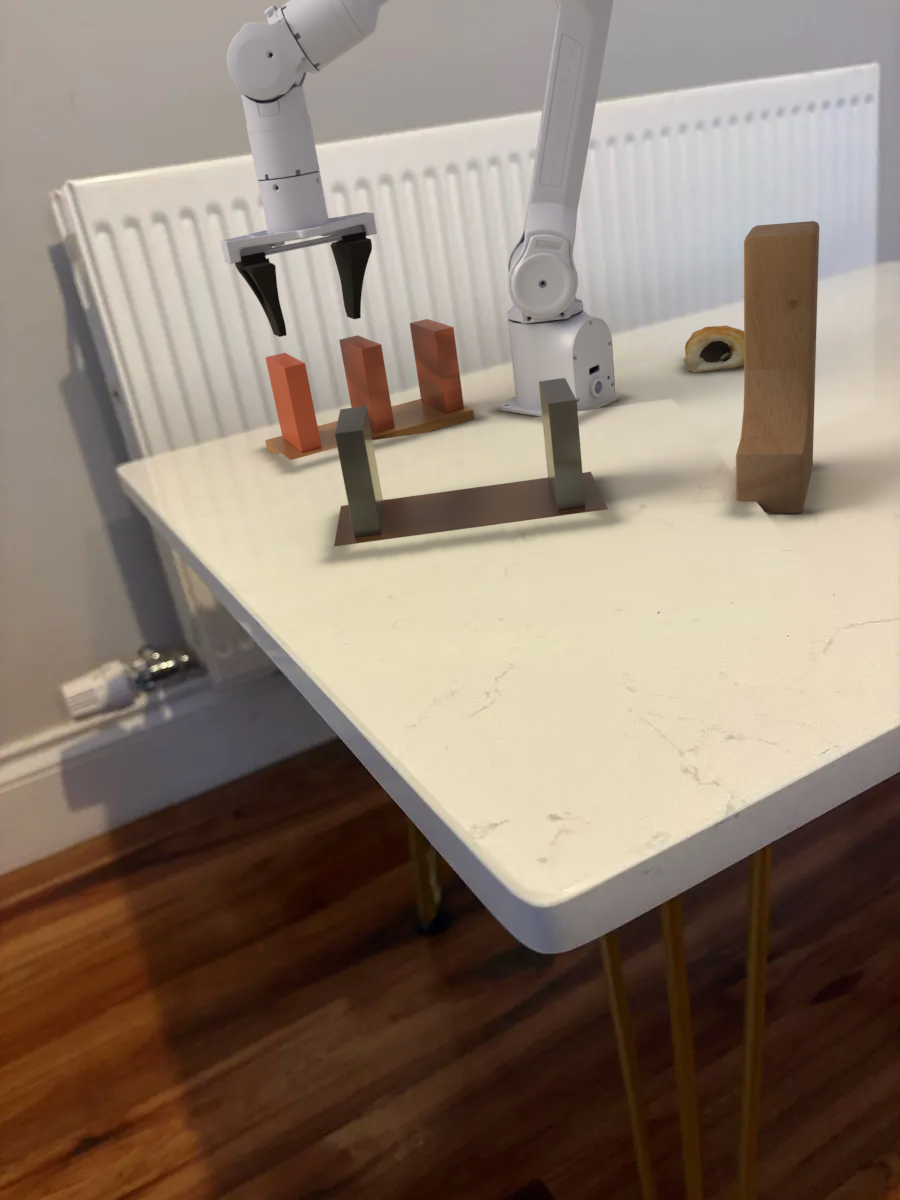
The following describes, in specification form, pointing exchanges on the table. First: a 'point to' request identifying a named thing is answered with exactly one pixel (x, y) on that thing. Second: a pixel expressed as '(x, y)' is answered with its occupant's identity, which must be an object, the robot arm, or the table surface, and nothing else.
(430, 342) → the book rack
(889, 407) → the table surface
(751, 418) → the wooden block
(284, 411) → the terracotta book
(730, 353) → the pastry
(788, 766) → the table surface
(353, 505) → the grey book stand
